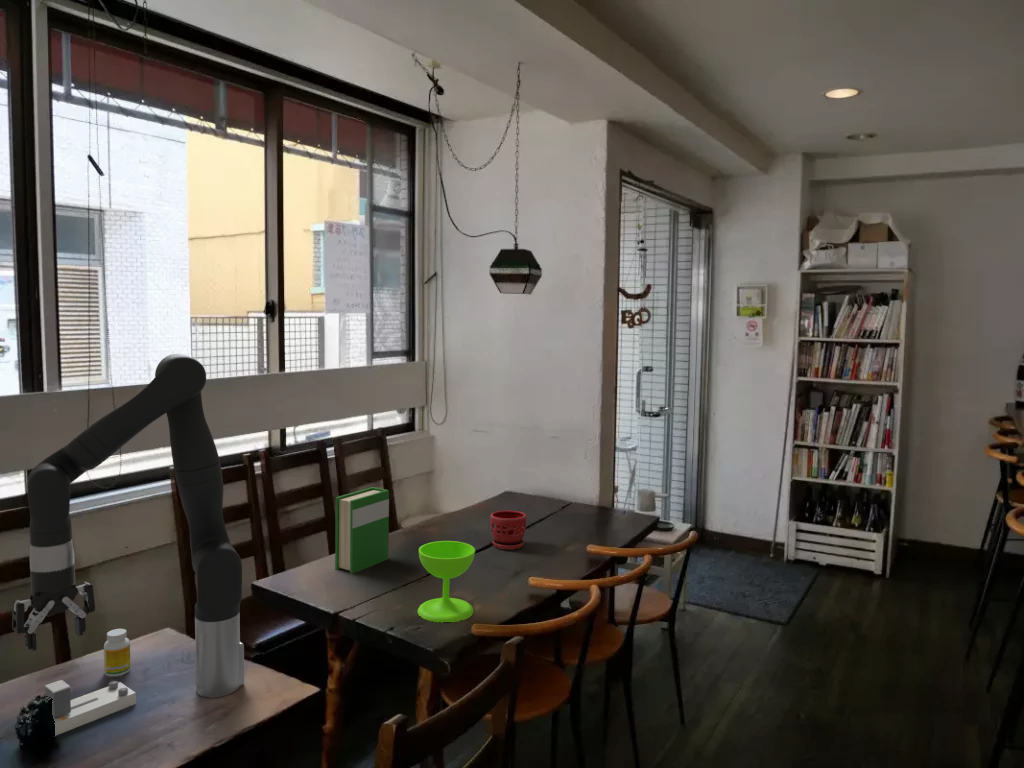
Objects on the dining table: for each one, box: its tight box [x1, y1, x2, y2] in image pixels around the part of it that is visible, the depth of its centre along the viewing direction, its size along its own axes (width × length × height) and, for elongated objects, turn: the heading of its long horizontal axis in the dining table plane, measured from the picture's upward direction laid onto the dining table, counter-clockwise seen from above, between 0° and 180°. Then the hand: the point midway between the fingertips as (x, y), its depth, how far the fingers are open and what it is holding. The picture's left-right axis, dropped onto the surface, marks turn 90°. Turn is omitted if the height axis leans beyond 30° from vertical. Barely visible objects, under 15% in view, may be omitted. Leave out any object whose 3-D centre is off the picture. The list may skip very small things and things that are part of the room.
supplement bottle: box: [103, 628, 131, 678], centre depth 173 cm, size 5×5×10 cm
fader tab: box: [44, 679, 71, 718], centre depth 151 cm, size 3×4×6 cm
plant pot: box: [489, 510, 527, 551], centre depth 273 cm, size 13×13×12 cm
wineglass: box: [417, 540, 476, 624], centre depth 213 cm, size 16×16×18 cm
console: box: [53, 680, 137, 737], centre depth 156 cm, size 16×7×4 cm, turn 142°
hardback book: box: [334, 486, 390, 575], centre depth 249 cm, size 18×7×24 cm, turn 149°
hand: (56, 642), depth 150 cm, fingers open, 8 cm apart
